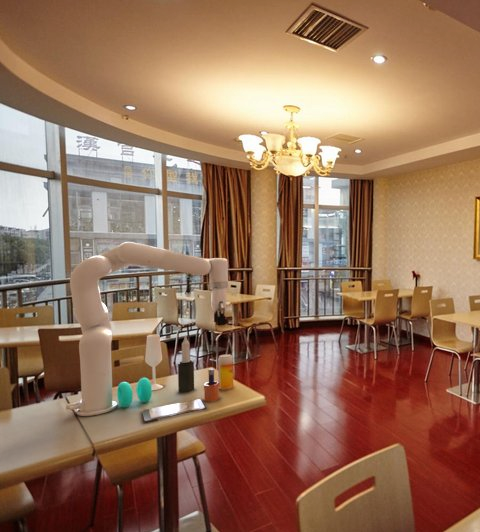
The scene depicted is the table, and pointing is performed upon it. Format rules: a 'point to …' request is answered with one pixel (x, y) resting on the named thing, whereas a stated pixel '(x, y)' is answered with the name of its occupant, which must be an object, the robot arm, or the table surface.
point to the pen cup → (211, 391)
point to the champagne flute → (153, 356)
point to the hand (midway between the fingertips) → (219, 323)
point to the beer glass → (225, 371)
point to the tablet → (172, 410)
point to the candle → (185, 370)
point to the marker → (211, 376)
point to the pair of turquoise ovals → (126, 394)
